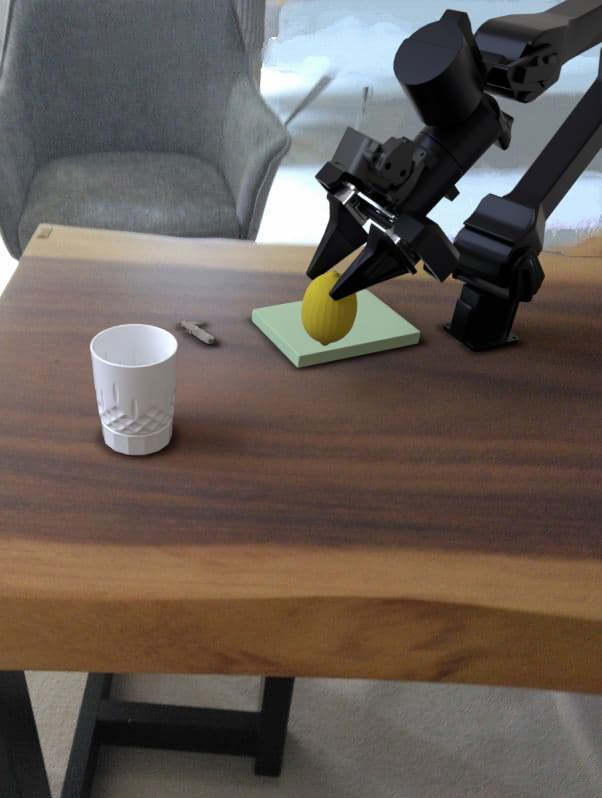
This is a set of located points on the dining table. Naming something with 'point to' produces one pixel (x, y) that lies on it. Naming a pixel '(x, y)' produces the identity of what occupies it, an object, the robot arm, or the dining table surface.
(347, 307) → the lemon
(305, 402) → the dining table surface
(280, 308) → the cutting board
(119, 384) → the white cup
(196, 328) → the pocket knife
